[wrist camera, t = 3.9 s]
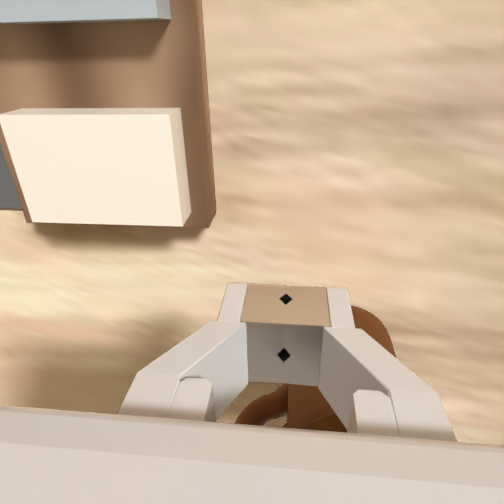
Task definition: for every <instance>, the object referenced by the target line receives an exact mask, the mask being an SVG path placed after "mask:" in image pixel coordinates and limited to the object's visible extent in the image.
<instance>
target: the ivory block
mask: <svg viewBox="0 0 504 504" xmlns="http://www.w3.org/2000/svg"><path fill="white" fill-rule="evenodd" d="M0 124H1V127H2V131H3V134H4V137H5V140H6V143H7V146H8V149H9V152H10V155H11V158H12V161H13V164H14V167H15V170H16V173H17V177H18V180H19V183H20V186H21V189H22V192H23V195H24V198H25V201H26V204H27V207H28V210H29V213H30V216H31V219H32V222H41V223H75V224H110V225H145V226H180V227H183V225H184V224H185V222H186V220H187V219H188V217H189V215H190V214H191V205H190V195H189V185H188V176H187V166H186V157H185V147H184V137H183V128H182V118H181V109H180V108H22V109H18V110H14V111H10V112H6V113H2V114H0Z"/></svg>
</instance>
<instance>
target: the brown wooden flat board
mask: <svg viewBox="0 0 504 504" xmlns="http://www.w3.org/2000/svg"><path fill="white" fill-rule="evenodd" d="M169 3H170V13H171V20H143V21H107V22H71V23H36V24H0V114H2V113H6V112H10V111H14V110H18V109H22V108H180V109H181V118H182V128H183V137H184V147H185V157H186V166H187V176H188V185H189V195H190V205H191V214H190V215H189V217H188V219H187V220H186V222H185V224H184V225H183V227H197V228H209V226H210V224H211V222H212V220H213V218H214V216H215V214H216V199H215V185H214V171H213V157H212V142H211V128H210V114H209V99H208V85H207V71H206V57H205V42H204V28H203V14H202V0H169ZM0 144H1V147H2V150H3V153H4V156H5V159H6V162H7V165H8V168H9V171H10V174H11V177H12V180H13V183H14V186H15V189H16V192H17V195H18V198H19V201H20V204H21V207H22V210H23V213H24V216H25V219H26V222H27V223H41V222H32V219H31V216H30V213H29V210H28V207H27V204H26V201H25V198H24V195H23V192H22V189H21V186H20V183H19V180H18V177H17V173H16V170H15V167H14V164H13V161H12V158H11V155H10V152H9V149H8V146H7V143H6V140H5V137H4V134H3V131H2V127H1V124H0ZM59 224H75V223H59ZM93 225H110V224H93ZM128 226H145V225H128ZM163 227H180V226H163Z"/></svg>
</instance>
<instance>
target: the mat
mask: <svg viewBox="0 0 504 504" xmlns="http://www.w3.org/2000/svg"><path fill="white" fill-rule="evenodd" d="M0 208H12V209H22V207H21V204H20V201H19V198H18V195H17V192H16V189H15V186H14V183H13V180H12V177H11V174H10V171H9V168H8V165H7V162H6V159H5V156H4V153H3V150H2V147H1V144H0Z"/></svg>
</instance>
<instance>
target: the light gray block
mask: <svg viewBox="0 0 504 504" xmlns="http://www.w3.org/2000/svg"><path fill="white" fill-rule="evenodd" d="M143 20H171V13H170V3H169V0H0V24H36V23H71V22H107V21H143Z"/></svg>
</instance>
